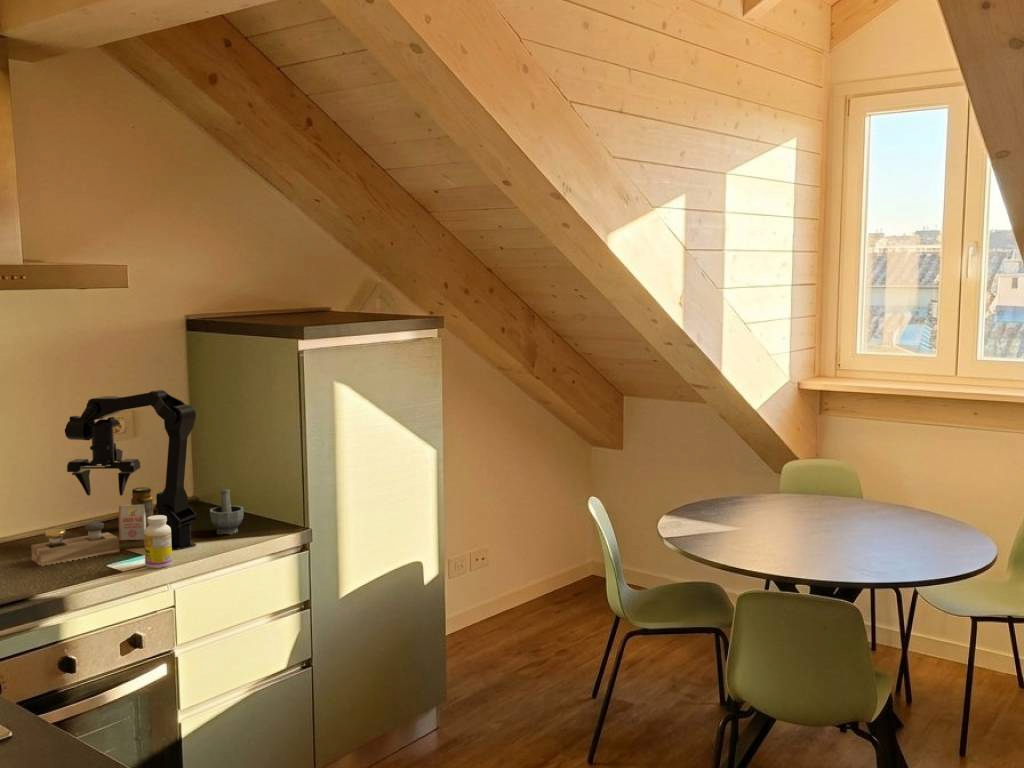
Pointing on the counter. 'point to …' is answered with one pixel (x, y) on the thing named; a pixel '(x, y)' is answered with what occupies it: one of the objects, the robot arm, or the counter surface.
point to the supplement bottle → (157, 542)
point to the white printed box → (132, 522)
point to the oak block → (74, 549)
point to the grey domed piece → (94, 530)
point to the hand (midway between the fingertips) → (105, 495)
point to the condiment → (143, 500)
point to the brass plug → (55, 537)
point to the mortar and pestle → (226, 515)
